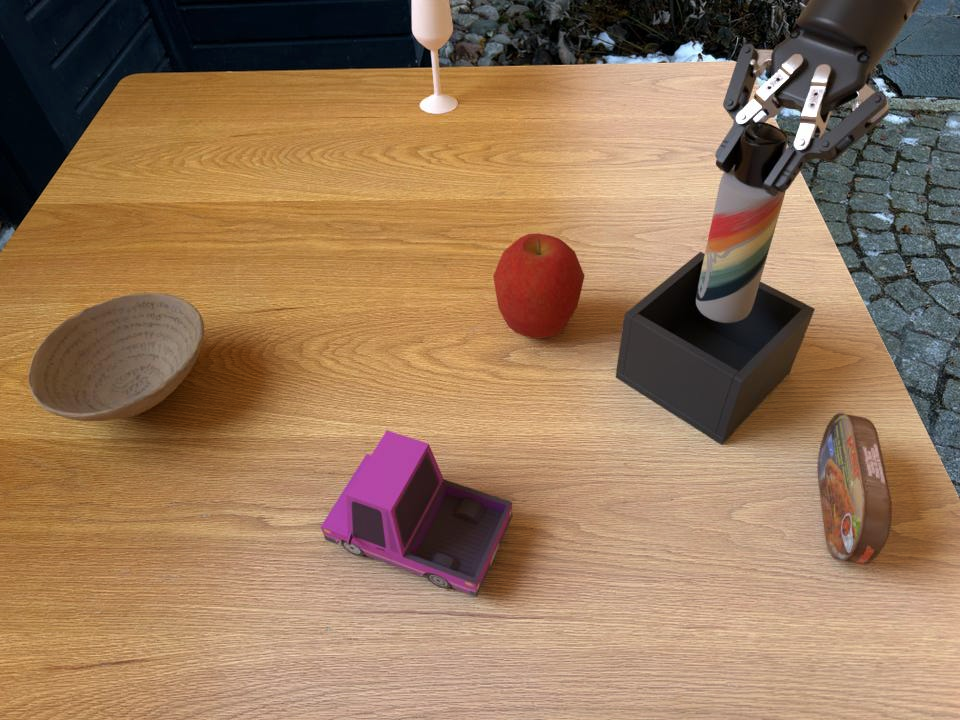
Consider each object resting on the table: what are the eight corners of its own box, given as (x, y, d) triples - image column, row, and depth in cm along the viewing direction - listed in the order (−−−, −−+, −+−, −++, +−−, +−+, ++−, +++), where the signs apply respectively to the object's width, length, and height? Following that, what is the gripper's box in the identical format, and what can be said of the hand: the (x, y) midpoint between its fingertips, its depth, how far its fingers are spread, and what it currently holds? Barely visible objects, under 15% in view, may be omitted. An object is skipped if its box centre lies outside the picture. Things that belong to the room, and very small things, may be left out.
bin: (789, 373, 85) (815, 308, 77) (721, 445, 78) (742, 382, 71) (685, 315, 92) (700, 251, 85) (615, 377, 85) (624, 313, 78)
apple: (502, 362, 87) (500, 271, 77) (488, 305, 94) (485, 215, 84) (588, 350, 88) (598, 258, 78) (568, 295, 95) (574, 204, 85)
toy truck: (376, 468, 78) (361, 407, 71) (515, 515, 73) (515, 455, 66) (323, 555, 71) (301, 497, 64) (473, 612, 67) (467, 557, 59)
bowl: (58, 363, 90) (26, 315, 84) (212, 320, 94) (192, 272, 88) (59, 482, 78) (22, 435, 72) (235, 426, 82) (214, 378, 77)
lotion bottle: (684, 295, 79) (718, 120, 64) (732, 282, 80) (777, 107, 65) (712, 330, 75) (755, 152, 60) (762, 316, 76) (816, 138, 61)
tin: (813, 446, 78) (839, 393, 72) (845, 450, 77) (874, 397, 71) (829, 577, 68) (860, 529, 62) (866, 584, 67) (901, 536, 61)
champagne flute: (465, 102, 130) (457, -46, 113) (438, 117, 127) (425, -33, 110) (439, 91, 134) (427, -55, 116) (411, 105, 130) (395, -43, 113)
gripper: (781, -52, 62) (664, 133, 66) (950, -5, 54) (807, 202, 58) (801, -4, 68) (693, 163, 72) (956, 44, 60) (826, 229, 64)
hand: (745, 179), depth 65 cm, fingers closed on lotion bottle, 4 cm apart
